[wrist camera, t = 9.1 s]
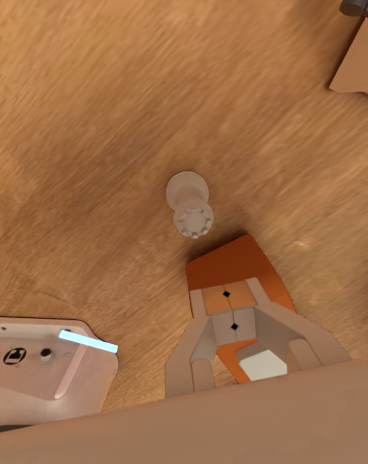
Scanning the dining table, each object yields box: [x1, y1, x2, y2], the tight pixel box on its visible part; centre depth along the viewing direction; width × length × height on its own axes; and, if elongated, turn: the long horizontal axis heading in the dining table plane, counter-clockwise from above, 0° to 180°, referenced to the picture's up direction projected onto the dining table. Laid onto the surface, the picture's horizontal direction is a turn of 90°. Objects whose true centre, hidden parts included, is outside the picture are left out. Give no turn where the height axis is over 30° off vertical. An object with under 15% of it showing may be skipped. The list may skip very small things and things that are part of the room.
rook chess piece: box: [166, 171, 214, 239], centre depth 22 cm, size 4×4×8 cm
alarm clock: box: [186, 234, 298, 384], centre depth 29 cm, size 24×8×11 cm, turn 29°
